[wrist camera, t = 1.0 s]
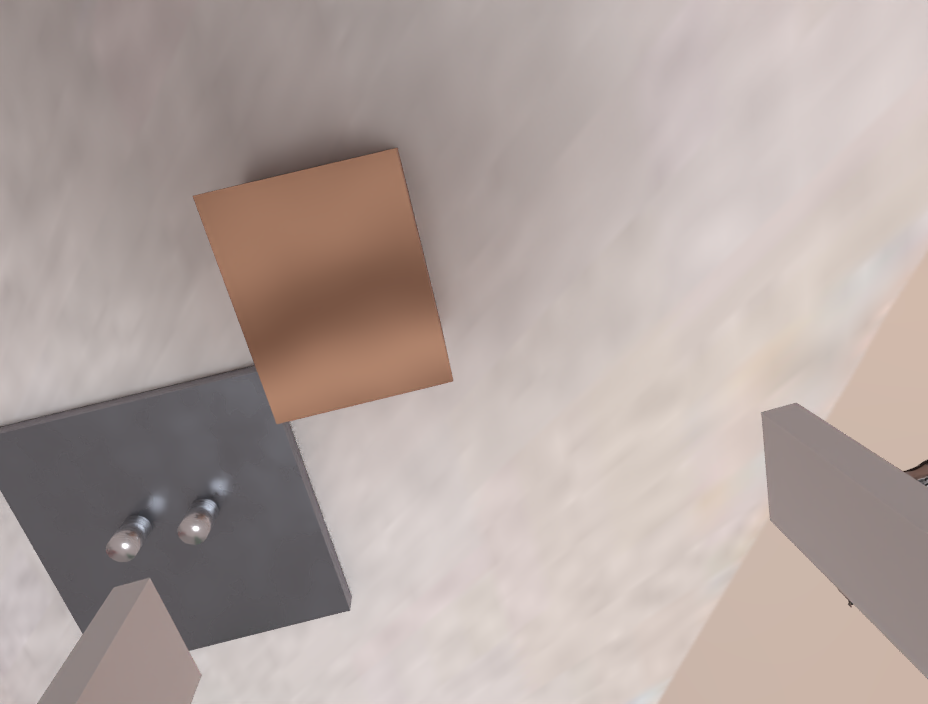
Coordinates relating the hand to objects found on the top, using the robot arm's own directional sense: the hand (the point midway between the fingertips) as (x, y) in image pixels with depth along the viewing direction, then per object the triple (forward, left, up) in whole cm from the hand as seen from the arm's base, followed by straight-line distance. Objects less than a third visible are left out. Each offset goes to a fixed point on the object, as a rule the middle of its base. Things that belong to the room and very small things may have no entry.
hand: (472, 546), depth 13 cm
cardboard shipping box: (-3, -4, -22) cm, 22 cm away
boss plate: (+10, -18, -22) cm, 30 cm away
